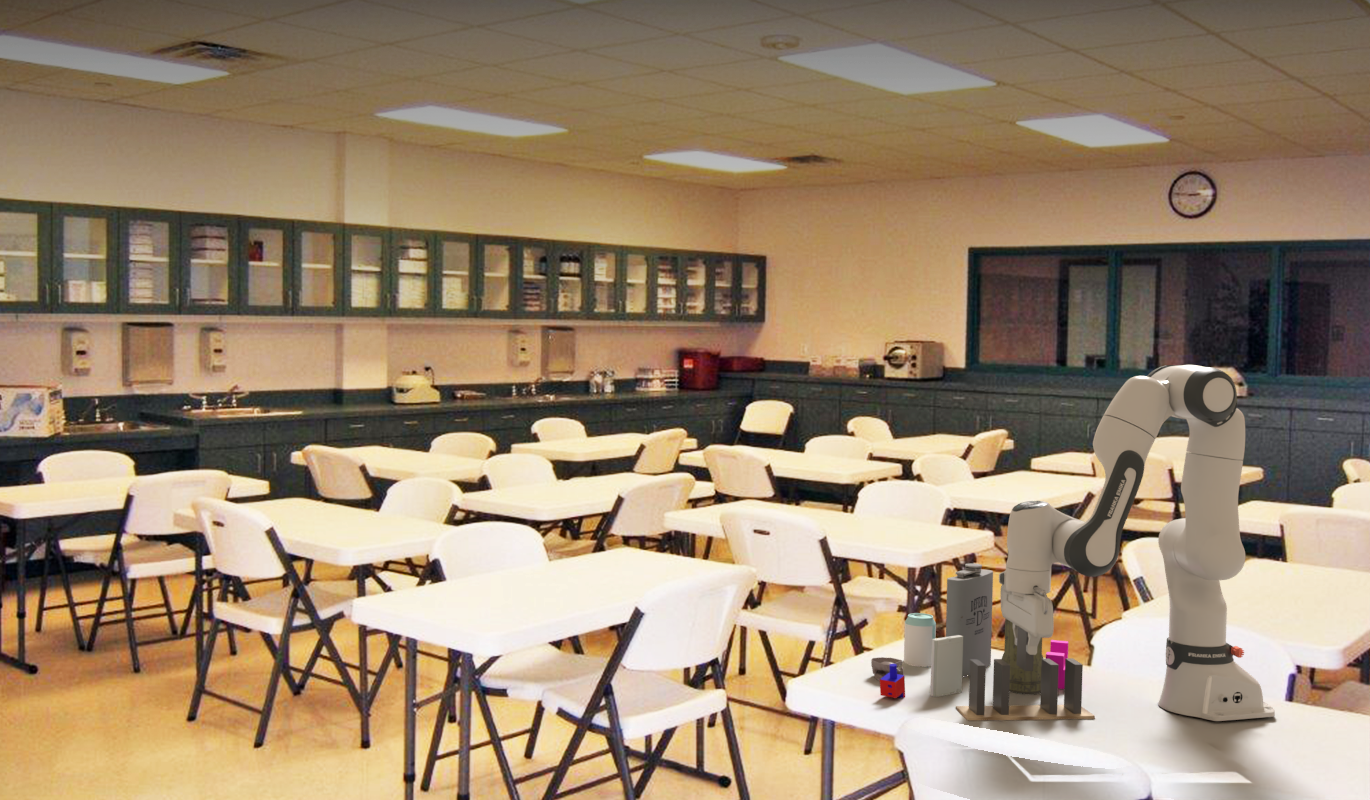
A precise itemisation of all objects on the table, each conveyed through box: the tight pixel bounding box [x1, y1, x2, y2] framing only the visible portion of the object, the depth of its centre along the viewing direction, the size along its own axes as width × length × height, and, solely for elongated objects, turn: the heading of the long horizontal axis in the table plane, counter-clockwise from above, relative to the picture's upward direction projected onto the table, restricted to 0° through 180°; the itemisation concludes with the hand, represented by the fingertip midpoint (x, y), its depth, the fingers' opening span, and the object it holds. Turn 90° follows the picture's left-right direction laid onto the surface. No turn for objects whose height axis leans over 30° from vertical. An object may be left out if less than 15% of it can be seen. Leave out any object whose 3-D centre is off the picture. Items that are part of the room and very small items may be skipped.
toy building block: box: [879, 664, 906, 699], centre depth 270 cm, size 4×4×8 cm
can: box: [903, 612, 937, 668], centre depth 299 cm, size 7×7×12 cm
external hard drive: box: [929, 635, 963, 698], centre depth 275 cm, size 2×8×12 cm, turn 123°
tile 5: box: [1063, 657, 1084, 714], centre depth 263 cm, size 2×5×10 cm, turn 6°
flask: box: [945, 563, 994, 678], centre depth 293 cm, size 17×5×25 cm, turn 141°
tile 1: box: [968, 659, 987, 715], centre depth 261 cm, size 2×5×10 cm, turn 6°
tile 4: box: [1039, 658, 1059, 714], centre depth 262 cm, size 2×5×10 cm, turn 6°
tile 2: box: [992, 658, 1010, 715], centre depth 262 cm, size 2×5×10 cm, turn 6°
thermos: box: [1001, 618, 1045, 696], centre depth 280 cm, size 9×12×35 cm
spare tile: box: [1016, 627, 1034, 671], centre depth 262 cm, size 2×5×10 cm, turn 6°
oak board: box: [955, 704, 1096, 721], centre depth 262 cm, size 26×8×1 cm, turn 96°
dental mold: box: [870, 656, 905, 682], centre depth 285 cm, size 8×7×5 cm
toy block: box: [1045, 639, 1069, 690], centre depth 289 cm, size 15×6×8 cm, turn 160°
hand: (1025, 650), depth 262 cm, fingers closed on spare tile, 5 cm apart
